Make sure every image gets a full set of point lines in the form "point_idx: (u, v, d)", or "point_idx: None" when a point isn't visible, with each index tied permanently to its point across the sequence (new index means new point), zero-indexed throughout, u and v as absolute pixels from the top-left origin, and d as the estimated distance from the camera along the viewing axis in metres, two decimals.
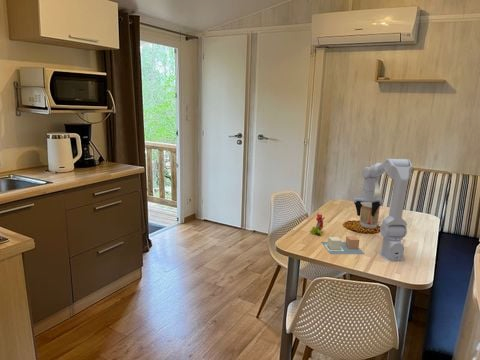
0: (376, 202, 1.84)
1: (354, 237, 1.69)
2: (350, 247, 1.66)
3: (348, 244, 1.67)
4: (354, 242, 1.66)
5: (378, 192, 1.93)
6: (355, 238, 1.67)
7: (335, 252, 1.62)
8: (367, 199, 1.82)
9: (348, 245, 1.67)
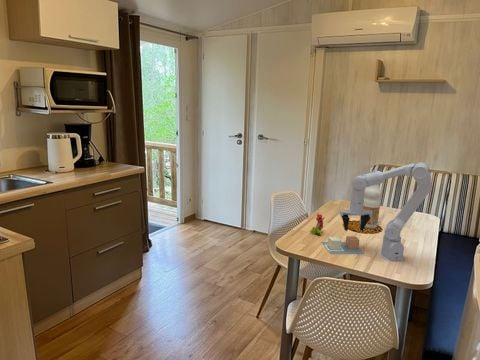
0: (365, 215, 1.65)
1: (354, 237, 1.69)
2: (350, 247, 1.66)
3: (348, 244, 1.67)
4: (354, 242, 1.66)
5: (378, 192, 1.93)
6: (355, 238, 1.67)
7: (335, 252, 1.62)
8: (355, 212, 1.62)
9: (348, 245, 1.67)
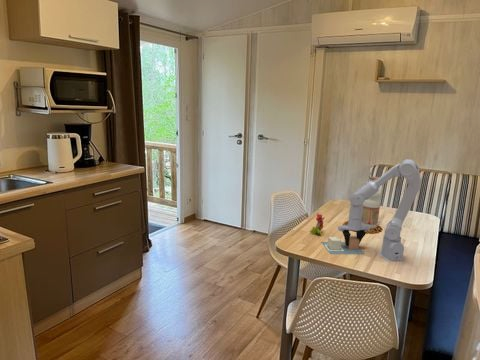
0: (363, 231, 1.67)
1: (354, 237, 1.69)
2: (350, 247, 1.66)
3: None
4: (354, 242, 1.66)
5: (378, 192, 1.93)
6: (355, 238, 1.67)
7: (335, 252, 1.62)
8: (353, 228, 1.64)
9: (348, 245, 1.67)
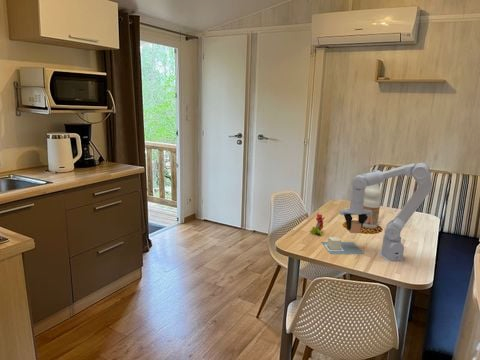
0: (365, 214, 1.65)
1: (356, 221, 1.67)
2: (352, 231, 1.65)
3: (350, 228, 1.66)
4: (356, 226, 1.64)
5: (378, 192, 1.93)
6: (357, 223, 1.65)
7: (335, 252, 1.62)
8: (355, 211, 1.62)
9: (350, 229, 1.66)
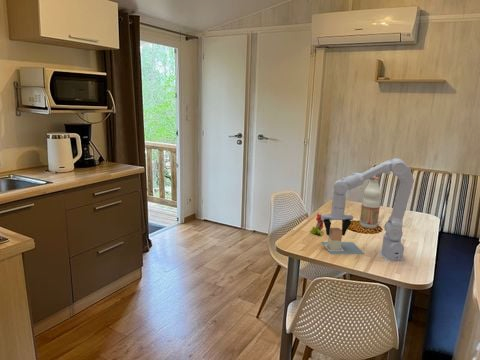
0: (347, 220, 1.64)
1: (337, 228, 1.66)
2: (333, 239, 1.64)
3: (331, 235, 1.65)
4: (337, 233, 1.63)
5: (378, 192, 1.93)
6: (338, 230, 1.64)
7: (335, 252, 1.62)
8: (336, 217, 1.61)
9: (331, 237, 1.65)
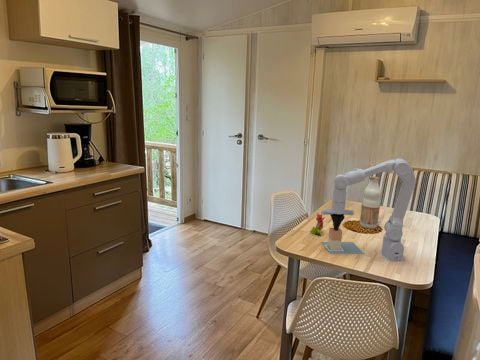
0: (347, 214, 1.63)
1: None
2: (333, 239, 1.64)
3: (331, 235, 1.65)
4: (337, 233, 1.63)
5: (378, 192, 1.93)
6: (338, 230, 1.64)
7: (335, 252, 1.62)
8: (337, 211, 1.60)
9: (331, 237, 1.65)
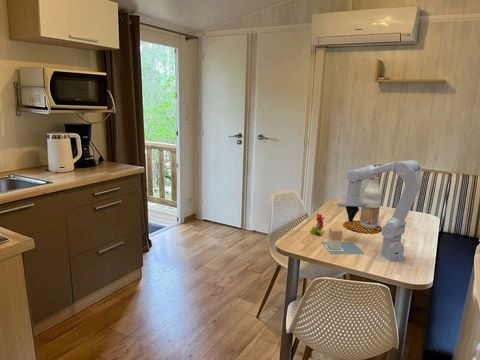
0: None
1: (337, 228, 1.66)
2: (333, 239, 1.64)
3: (331, 235, 1.65)
4: (337, 233, 1.63)
5: (378, 192, 1.93)
6: (338, 230, 1.64)
7: (335, 252, 1.62)
8: (352, 204, 1.71)
9: (331, 237, 1.65)
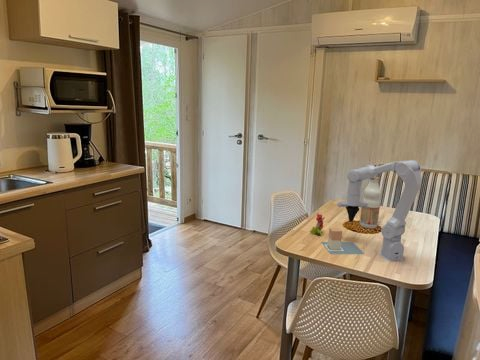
0: None
1: (337, 228, 1.66)
2: (333, 239, 1.64)
3: (331, 235, 1.65)
4: (337, 233, 1.63)
5: (378, 192, 1.93)
6: (338, 230, 1.64)
7: (335, 252, 1.62)
8: (352, 203, 1.71)
9: (331, 237, 1.65)
